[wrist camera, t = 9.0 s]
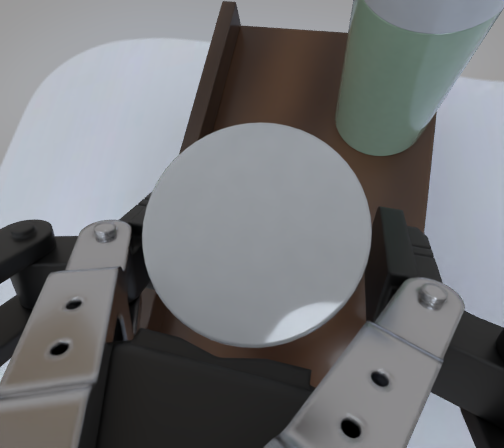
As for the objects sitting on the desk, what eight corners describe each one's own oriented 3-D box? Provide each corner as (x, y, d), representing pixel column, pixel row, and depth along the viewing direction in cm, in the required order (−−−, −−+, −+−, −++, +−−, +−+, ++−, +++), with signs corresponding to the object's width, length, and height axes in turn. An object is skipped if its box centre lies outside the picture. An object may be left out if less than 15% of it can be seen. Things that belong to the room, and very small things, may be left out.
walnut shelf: (410, 105, 24) (457, 13, 17) (372, 417, 20) (413, 476, 12) (243, 88, 26) (220, 0, 19) (173, 364, 22) (109, 388, 15)
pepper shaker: (337, 241, 16) (387, 134, 7) (321, 340, 15) (354, 377, 6) (245, 225, 17) (173, 109, 8) (224, 317, 16) (111, 317, 7)
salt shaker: (430, 83, 18) (580, -190, 8) (421, 163, 17) (580, -40, 7) (341, 74, 19) (381, -181, 9) (327, 151, 18) (357, -47, 8)
